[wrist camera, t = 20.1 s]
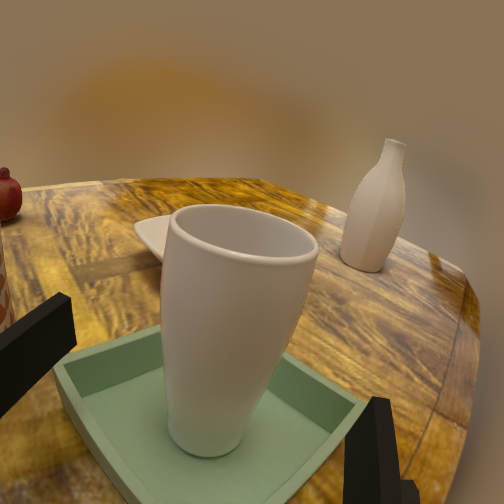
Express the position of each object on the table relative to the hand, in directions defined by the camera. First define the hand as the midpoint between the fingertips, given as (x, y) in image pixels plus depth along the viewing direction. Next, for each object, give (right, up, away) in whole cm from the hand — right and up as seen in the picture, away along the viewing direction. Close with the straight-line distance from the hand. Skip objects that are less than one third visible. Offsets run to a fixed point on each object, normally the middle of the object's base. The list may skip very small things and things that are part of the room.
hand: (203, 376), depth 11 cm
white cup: (-1, -8, +8) cm, 11 cm away
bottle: (+24, +2, +49) cm, 55 cm away
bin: (-2, -8, +8) cm, 12 cm away
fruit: (-43, +10, +31) cm, 55 cm away
